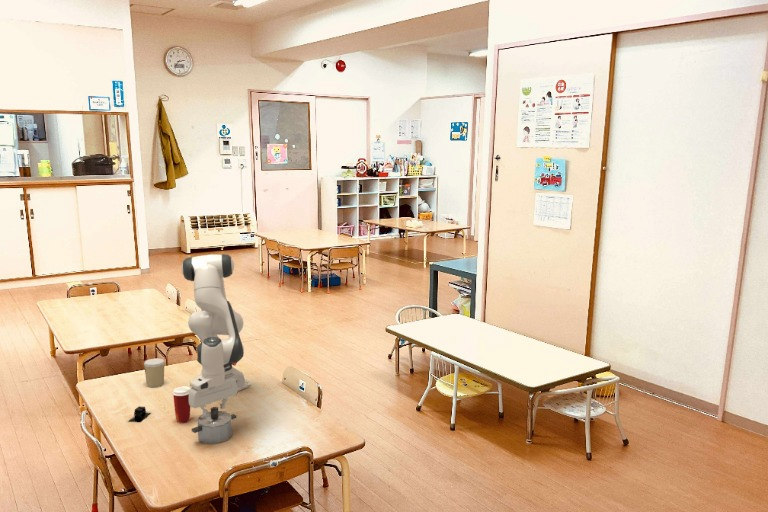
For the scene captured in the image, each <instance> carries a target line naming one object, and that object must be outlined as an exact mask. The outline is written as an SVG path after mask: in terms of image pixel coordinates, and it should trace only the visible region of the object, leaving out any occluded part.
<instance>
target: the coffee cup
mask: <svg viewBox="0 0 768 512" xmlns="http://www.w3.org/2000/svg"><path fill="white" fill-rule="evenodd" d="M165 362H166V361H165V360H164V359H163V358H160V357H158V358H155V357H154V358H149V359H146V360H144V362H143V367H144V373H145V382H146V387H148V388H151V389H156V388H160V387H162V386H164V385H165V384H164V382H165V364H166V363H165Z"/></svg>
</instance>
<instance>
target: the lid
mask: <svg viewBox="0 0 768 512" xmlns="http://www.w3.org/2000/svg"><path fill="white" fill-rule="evenodd" d="M231 415H232V414H231V413H230V412H228V411H223V410H219V407H217V406H213V407H212V406H211V407H210V411H208V414H207V415H203V413H202V414H201V415H199V416H198V418H197V424H198V423H199V424H200V425H201V426H205V427H218V426H222V425H225V424H227V423H228V422H230V421H231Z"/></svg>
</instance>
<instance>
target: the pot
mask: <svg viewBox="0 0 768 512" xmlns="http://www.w3.org/2000/svg"><path fill="white" fill-rule="evenodd" d="M237 417H238V416H237V415H236V414H234V413H232V414H231V421H230V422H228V423H227V424H225V425H222V426H218V427H205V426H201V425H200V424H199V423H198V422H197V426H196V427H193V428H191V433H194V434H196V433H197V438H198V439H197V440H198V441H199V442H201V443H202V444H207V445H208V444H209V445H213V444H221V443H223V442H227V441H228V440H229V439H231V438H232V437H233V431H232V430H233V429H232V428H233V425H232V424H233V423H232V422H233V421H232V420H236V419H237Z"/></svg>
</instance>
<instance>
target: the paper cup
mask: <svg viewBox="0 0 768 512" xmlns="http://www.w3.org/2000/svg"><path fill="white" fill-rule="evenodd" d="M190 389H191V386H183V385H182V386H178V387H175V388H173V391H172V392H171V394H172V396H173V397H172V398H173V406H174V413H175V422H176V423H177V424H185V423H188V422H189V421H190V420H191V406H190V405H189V391H190Z"/></svg>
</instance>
